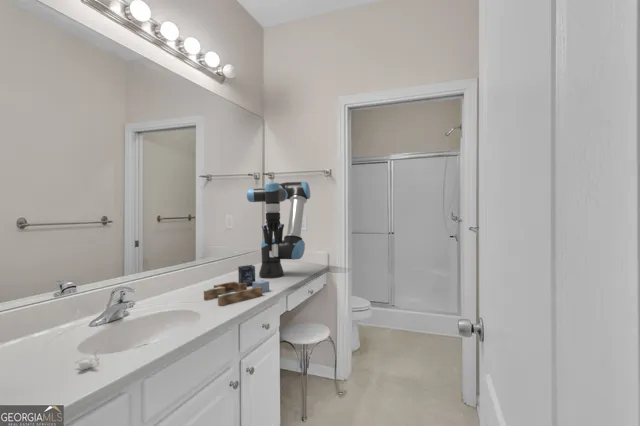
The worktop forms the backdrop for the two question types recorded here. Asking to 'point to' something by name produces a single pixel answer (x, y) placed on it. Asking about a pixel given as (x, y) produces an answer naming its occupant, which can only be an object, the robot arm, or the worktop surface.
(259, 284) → the block
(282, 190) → the robot arm
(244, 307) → the worktop surface
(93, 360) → the dove figurine
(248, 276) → the box
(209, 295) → the wooden zigzag frame
